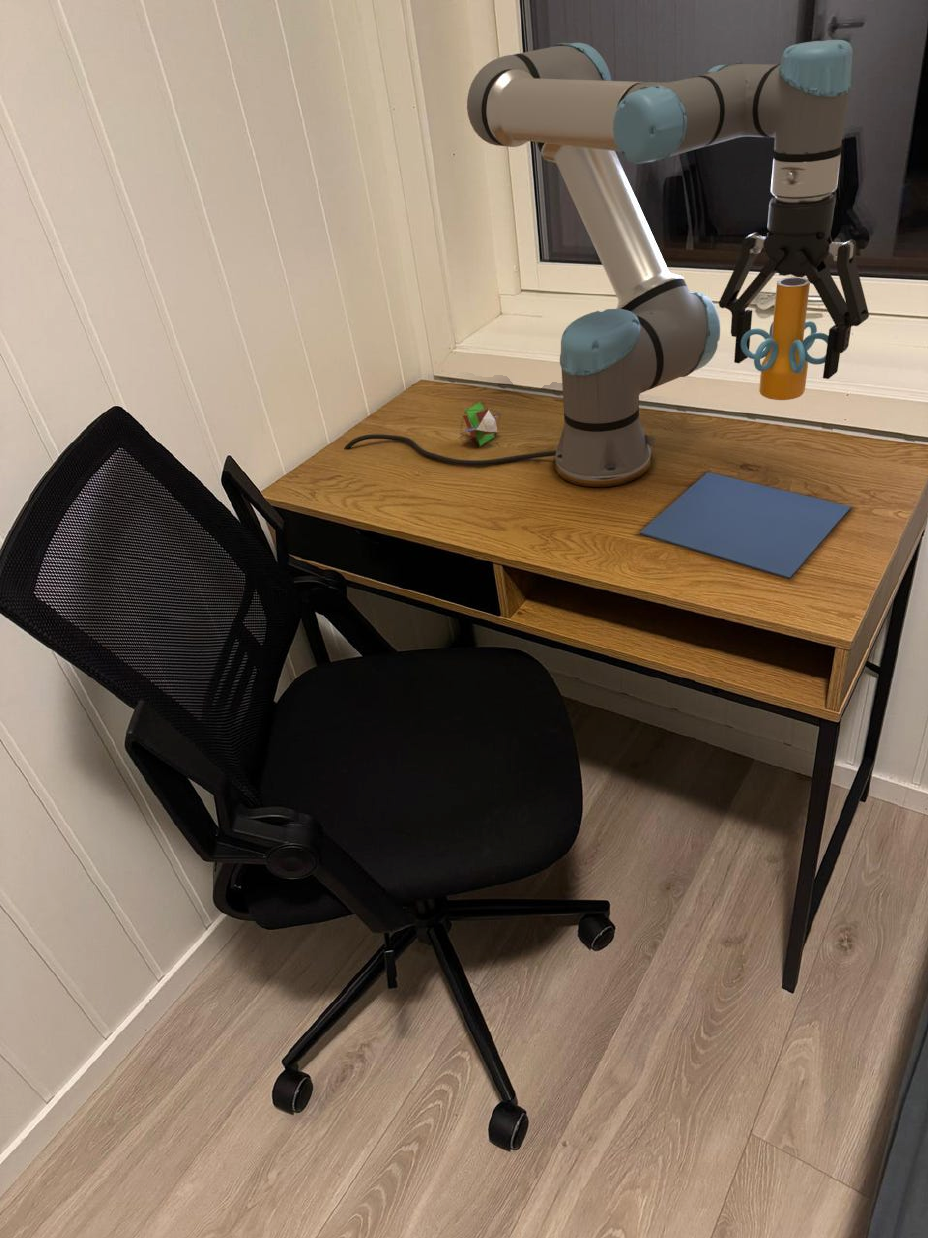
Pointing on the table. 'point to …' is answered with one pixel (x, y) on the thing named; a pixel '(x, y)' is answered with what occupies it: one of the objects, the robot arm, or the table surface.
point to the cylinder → (786, 343)
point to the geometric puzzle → (480, 423)
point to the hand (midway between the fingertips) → (784, 367)
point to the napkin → (747, 523)
